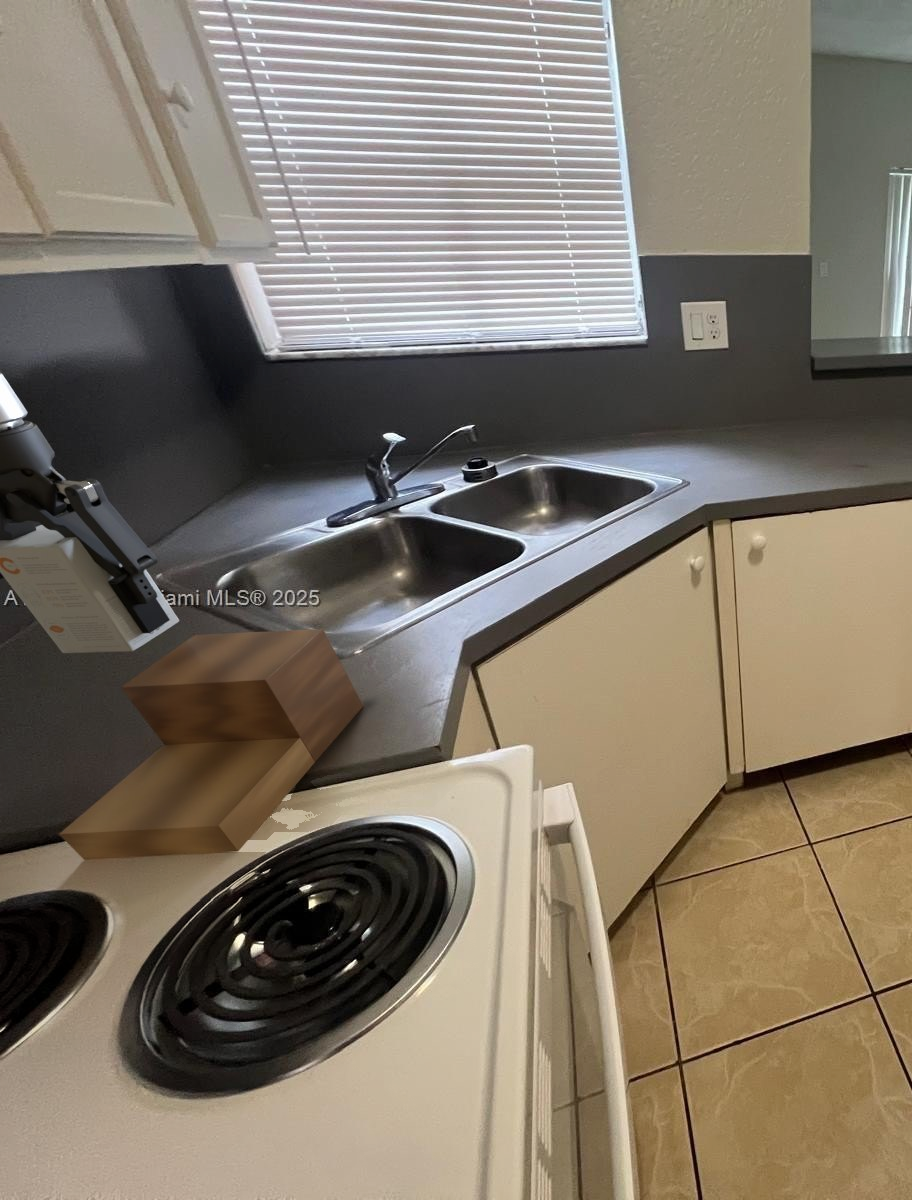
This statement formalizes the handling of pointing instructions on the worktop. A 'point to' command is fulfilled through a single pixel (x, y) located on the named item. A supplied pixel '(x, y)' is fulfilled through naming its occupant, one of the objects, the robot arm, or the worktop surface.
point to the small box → (73, 594)
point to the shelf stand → (220, 743)
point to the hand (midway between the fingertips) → (117, 627)
